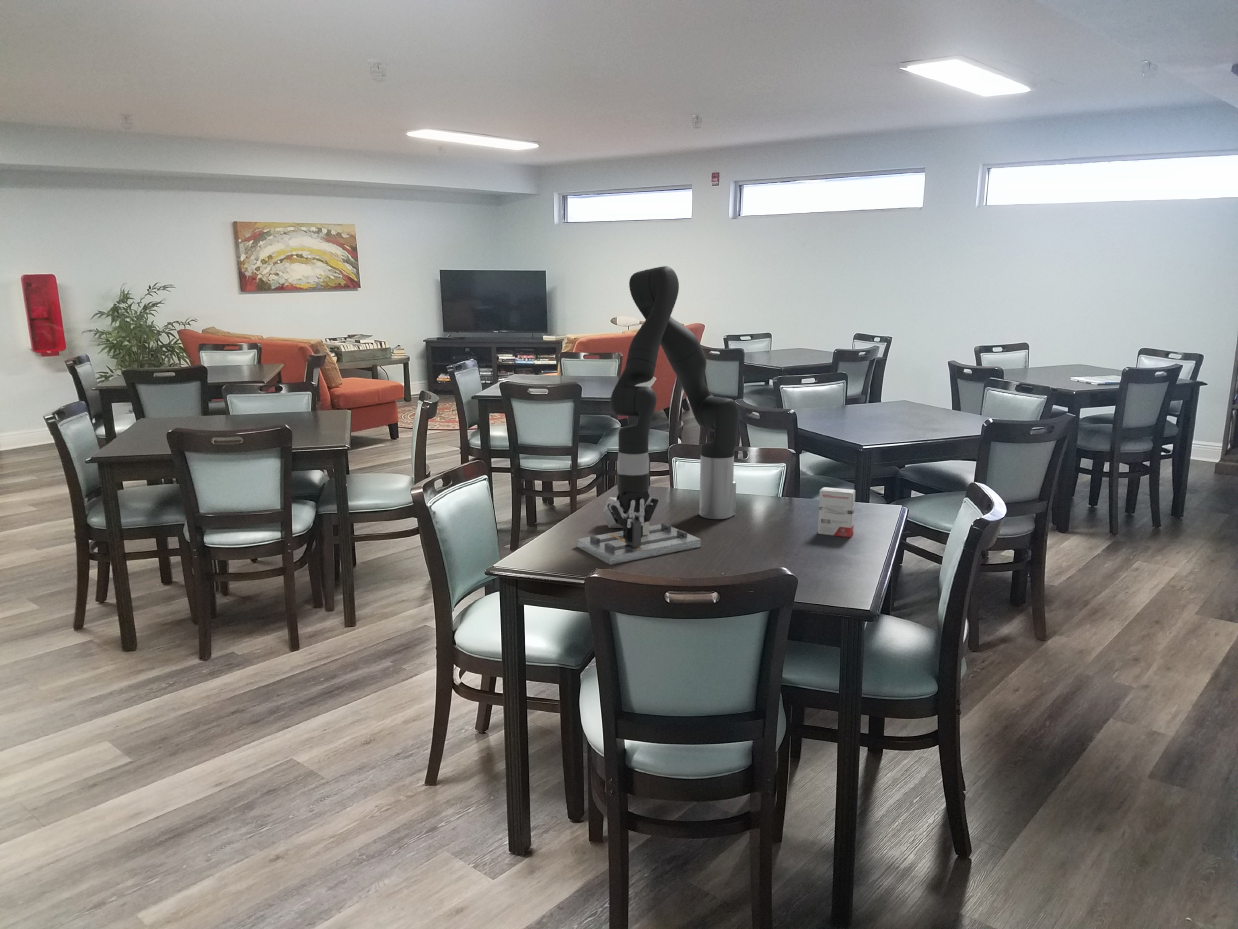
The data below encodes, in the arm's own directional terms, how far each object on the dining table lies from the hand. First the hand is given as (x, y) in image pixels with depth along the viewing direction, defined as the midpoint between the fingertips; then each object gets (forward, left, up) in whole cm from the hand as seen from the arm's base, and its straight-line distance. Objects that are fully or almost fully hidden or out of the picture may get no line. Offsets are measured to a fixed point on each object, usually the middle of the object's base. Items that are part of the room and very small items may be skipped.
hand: (632, 540), depth 202 cm
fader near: (0, 0, -1) cm, 1 cm away
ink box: (-54, +14, -3) cm, 56 cm away
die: (-9, -21, -3) cm, 24 cm away
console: (-4, -3, -3) cm, 6 cm away
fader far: (-7, -7, -1) cm, 10 cm away
